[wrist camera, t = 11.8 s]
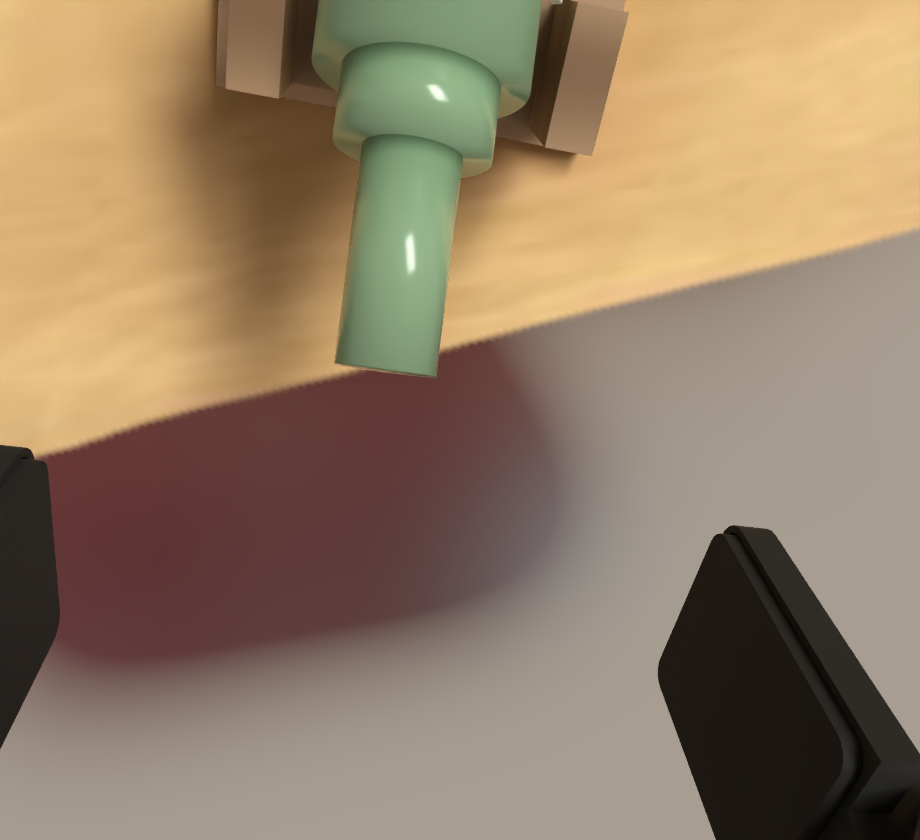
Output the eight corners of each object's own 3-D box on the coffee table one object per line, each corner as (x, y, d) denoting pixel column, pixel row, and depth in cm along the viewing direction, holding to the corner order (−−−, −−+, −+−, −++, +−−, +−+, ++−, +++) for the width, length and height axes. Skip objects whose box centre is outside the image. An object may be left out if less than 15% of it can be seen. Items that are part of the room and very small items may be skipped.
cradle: (228, -108, 27) (172, -131, 20) (623, -21, 29) (689, -16, 22) (221, 82, 29) (171, 115, 23) (581, 148, 32) (628, 196, 25)
